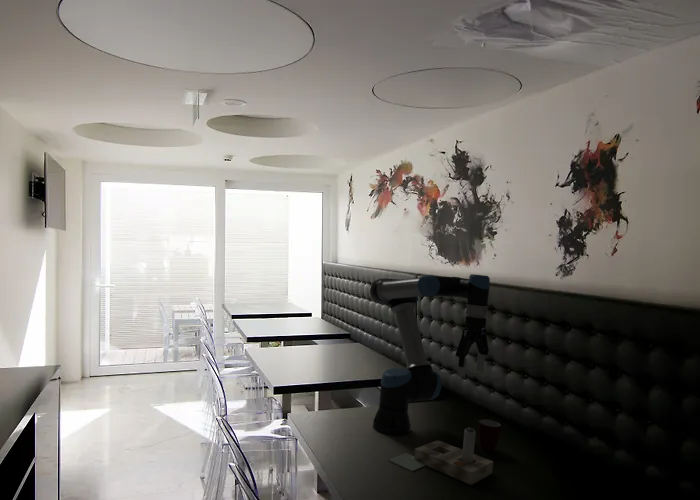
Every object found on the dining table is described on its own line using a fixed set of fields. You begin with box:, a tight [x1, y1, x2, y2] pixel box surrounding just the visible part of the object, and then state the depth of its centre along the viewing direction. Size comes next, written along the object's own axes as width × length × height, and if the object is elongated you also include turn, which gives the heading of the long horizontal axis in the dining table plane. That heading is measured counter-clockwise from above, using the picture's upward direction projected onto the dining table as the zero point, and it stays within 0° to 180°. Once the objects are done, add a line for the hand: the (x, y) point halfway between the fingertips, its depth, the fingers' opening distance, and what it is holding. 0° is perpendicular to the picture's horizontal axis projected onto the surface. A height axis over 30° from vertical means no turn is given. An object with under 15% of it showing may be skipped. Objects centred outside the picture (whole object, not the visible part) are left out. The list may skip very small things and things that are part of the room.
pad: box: [387, 452, 427, 473], centre depth 170 cm, size 10×10×1 cm
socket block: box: [413, 439, 494, 486], centre depth 170 cm, size 22×14×4 cm, turn 47°
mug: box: [477, 418, 502, 453], centre depth 187 cm, size 10×8×10 cm
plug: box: [462, 427, 476, 465], centre depth 166 cm, size 4×4×15 cm
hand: (470, 373), depth 185 cm, fingers open, 13 cm apart
